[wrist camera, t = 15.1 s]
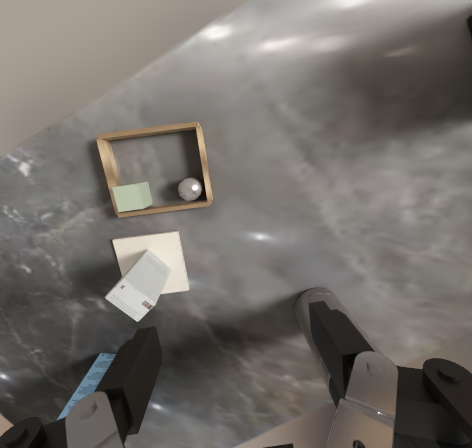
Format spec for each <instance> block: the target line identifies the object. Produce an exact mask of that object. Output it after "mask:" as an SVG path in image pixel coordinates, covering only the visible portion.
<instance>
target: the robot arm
mask: <svg viewBox="0 0 472 448" xmlns="http://www.w3.org/2000/svg"><path fill="white" fill-rule="evenodd" d="M294 310H295V315H296V318H297V320H298V322H299V325H300V327H301V329H302V332H303V334H304V336H305V338H306V341H307V343H308V345H309V347H310V349H311V352H312V354H313V356H314V358H315V361H316V363H317V365H318V367H319V370H320V372H321V374H322V376H323V378H324V381H325V383H326V385H327V387H328V390H329V392H330V394H331V397H332V399H333V401H334V404H335V406H336V409H337V411H336V414H335V418H334V422H333V425H332V429H331V432H330V436H329V439H328V443H327V446H326V448H472V374H471V373H470V372H469V371H468V370H466V369H465V368H464V367H462V366H460V365H458V364H456V363H454V362H451V361H449V360H445V359H439V358H432V359H428V360H426V361H425V362H424V364H423V369H415V368H407V367H400V366H397V365H395V363H394V362H393V361H392V360H391V359H389V358H388V357H386V356H385V355H384V354H383V353H382V352H381V350H380V349H379V348H378V347H377V346H376V345H375V343H374V342H373V341H372V340H371V338H370V337H369V336H368V335H367V333H366V332H365V331H364V330H363V329H362V327H361V326H360V325H359V324H358V322H357V321H356V320H355V319H354V318H353V316H352V315H351V314H350V313H349V311H348V310H347V309H346V308H345V306H344V305H343V304H342V303H341V302H340V300H339V299H338V298H337V297H336V295H335V294H334V293H333V292H331V291H330V290H328V289H325V288H313V289H310V290H307V291H306V292H304V293H303V294H302V295H301V296H300V297H299V298H298V299H297V301H296V304H295V308H294ZM161 364H162V349H161V345H160V342H159V338H158V334H157V330H156V328H155V326H149V327H142V328H138V330H137V331H136V333H135V335H134V337H133V339H132V340H128V341H127V342H126V343H125V344H124V345H123V346H122V347H121V348H120V349H119V350H118V352H117V354H116V355H115V358H114V359H113V360H112V362H111V364H110V366H109V367H108V369H107V370H106V372H105V374H104V375H103V377H102V379H101V380H100V382H99V384H98V385H97V387H96V389H95V391H94V392H93V393H91V394H89V395H87V396H85V397H83V398H82V399H80V400H79V401H78V402H77V403H76V404H75V405H74V406H73V407H72V408H71V409H70V411H69V412H68V414H67V416H66V417H64V418H61V419H59V420H57V421H54V422H52V423H50V424H47V425H45V426H43V424H42V422H41V419H40V418H38V417H31V418H28V419H25V420H23V421H21V422H19V423H17V424H16V425H14V426H13V427H11V428H10V429H9V430H7V431H6V432H5V433H4V434H3V435H2V436H1V437H0V448H125V446H124V442H125V440H126V437H127V435H132V434H138V432H139V429H140V426H141V423H142V420H143V417H144V414H145V411H146V408H147V405H148V402H149V399H150V397H151V394H152V391H153V388H154V385H155V382H156V379H157V376H158V373H159V370H160V367H161ZM266 448H293V444H285V445H279V446H272V447H266Z"/></svg>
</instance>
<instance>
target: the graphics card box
mask: <svg viewBox="0 0 472 448" xmlns="http://www.w3.org/2000/svg"><path fill="white" fill-rule="evenodd" d="M467 20H468V23H469V26H470V29H471V32H472V16H470V17H469V18H468V19H467Z"/></svg>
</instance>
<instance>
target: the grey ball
mask: <svg viewBox="0 0 472 448" xmlns="http://www.w3.org/2000/svg"><path fill="white" fill-rule="evenodd" d="M178 191H179V194H180V196H181V197H182V198H183V199H185V200H188V201H192V200H195V199H197V198H198V197H199V195H200V194H201V193H202V191H203V184H202V182H201V181H200V180H199V179H198V178H195V177H190V178H187V179H184V180H183V181H181V183H180V184H179V187H178Z"/></svg>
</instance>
